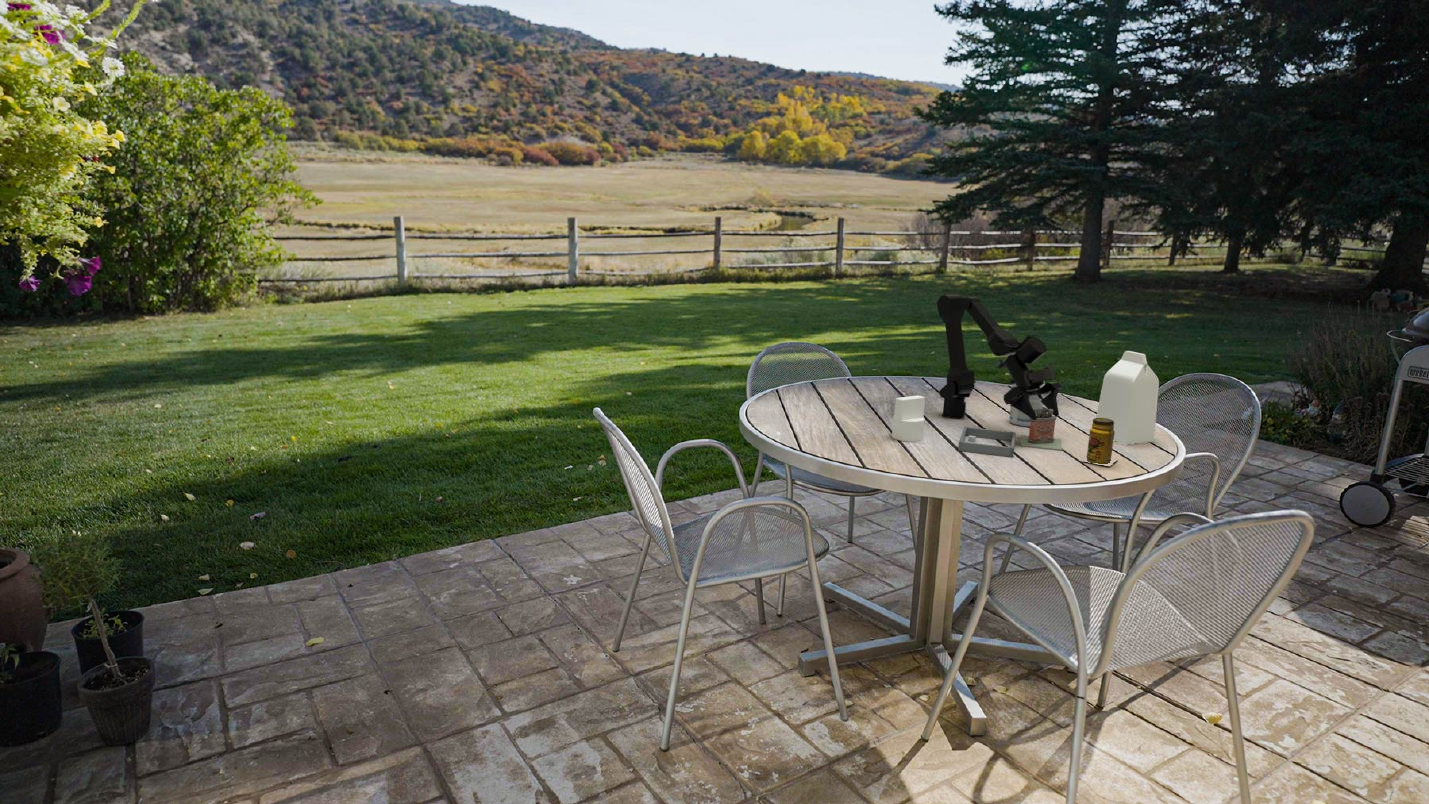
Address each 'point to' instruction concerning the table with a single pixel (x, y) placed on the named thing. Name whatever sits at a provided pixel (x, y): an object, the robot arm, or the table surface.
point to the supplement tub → (1020, 417)
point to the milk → (1130, 399)
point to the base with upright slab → (909, 418)
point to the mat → (1052, 446)
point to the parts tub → (984, 447)
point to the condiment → (1100, 441)
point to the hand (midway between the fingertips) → (1046, 417)
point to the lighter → (1042, 427)
